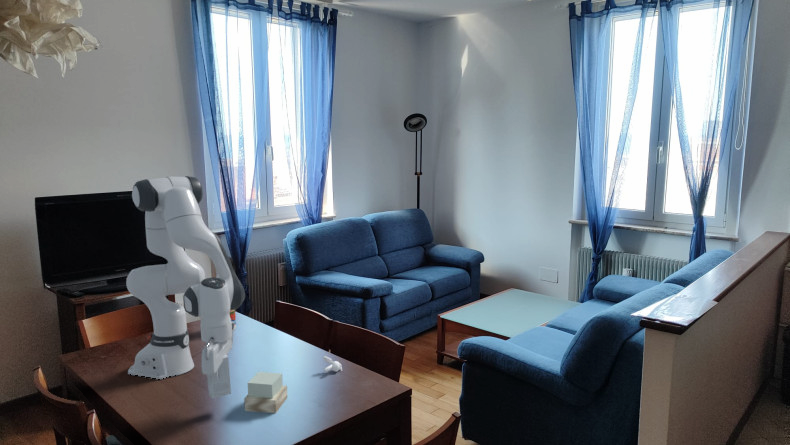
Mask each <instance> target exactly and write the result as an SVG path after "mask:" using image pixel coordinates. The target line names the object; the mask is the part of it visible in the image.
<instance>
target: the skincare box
mask: <svg viewBox="0 0 790 445" xmlns="http://www.w3.org/2000/svg"><path fill="white" fill-rule="evenodd" d="M229 364H230V363H229V356H228V355H225V356H224V357H223V362H222V364H221V365H220V367H219V368H218V374H219V379H218V381H217V382H213V381H212V376H211V375H206V377H207V388H208V389H207V390H208V395H209V397H210V398H211V399H216V398H220V397H225V396H227V395H231V394H232V387H231V376H230V374H231V371H230V365H229Z"/></svg>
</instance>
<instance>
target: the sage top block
mask: <svg viewBox="0 0 790 445" xmlns="http://www.w3.org/2000/svg"><path fill="white" fill-rule="evenodd" d="M283 383H284V382H283V373H280V372H279V373H277V372H264V371H258V372H257V373H256V374H255V375H254V376H253V377H252V378H251V379H250V380H248V381H247V395H248V397H259V398H271V399H273V398H274V396H275V395H276V394H277V393H278V392H279V391H280V390H281V388H282V387H283V386H284V384H283Z"/></svg>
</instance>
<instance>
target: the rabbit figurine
mask: <svg viewBox="0 0 790 445" xmlns="http://www.w3.org/2000/svg"><path fill="white" fill-rule="evenodd" d="M322 356H323V355H322ZM322 358H323V361H325V362H326V363H329V365H328V366H326V367H325V368H324V369H323V370H324V372H330V370H331V369H332V370H333V371H334V372H335V373H337V372H339V370H340V372H343V367H342V363H340V362H339V361H337V360H334V361H333V359H332V358H331V357H328V356H326V355H324V356H323V357H322Z"/></svg>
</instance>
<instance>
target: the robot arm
mask: <svg viewBox="0 0 790 445" xmlns="http://www.w3.org/2000/svg"><path fill="white" fill-rule="evenodd" d="M203 193H204V192H203V187H202V183H201V182H200V180H199V179H198V178H196V177H194V176H189V175H187V176H186V175H185V176H165V177H157V178H151V179H148V178H147V179H145V178H144V179H142V180H138V181H136V182H135V183H134V184H133V187H132V192H131V198H132V202H133V203H134V206H135V207H136V209H138V210H139V211H141V212H145V214H144V221H145V223H144V224H145V225H144V226H145V238H146V247H147V250H149V252H150V253H152V254H153V255H155V256H159V257H162V258H164V259H165V260H166V261H167V263H166V264H165V263H164V264H154V265H145V266H141V267H140V266H139V267H137V268H134V269H131V271H129V273H128V275H127V278H126V281H125V282H126V284H125V285H126V288H127V290H128V292H129V293H130V294H131V295H132V296H133V297H135V298H136V299H139V300H140V301H141V302H143V303H144V304H145V306H146V307H147V308H148V309H149V311H150V315H151V319H152V325H153V326H152V327H153V332H152V333H150V335H148V336H147V341H148V340H150V342H149V343H148V344H147V345H146V346H144V347H143V348H142V349H141V350H139V352H137V353H136V355H135V357H134V363H133V365H131V366H130V367H129V369H128V370H127V375H130V374H131V376H135V375H138V376H137V377H141V376H145V377H144V378H146V377H151V378H150V379H152V378H156V379H155V380H158V379H160V380H164V379H167V378H169V376H171V377H176V376H180V375H183V374H185V373H187V372H190V371H191V370H193V369H194V368H195V363H194V360H193V358H192V353H191V349H190V335H189V334H190V333H189V328H188V326H187V324H188V322H187V314H189V315H191V316H192V317H195V318H200V322H199V323H200V324H199V325H200V338H201V341H202V342H204V343H205V345H204V347H203V348H202V350H201V374H202V375H206V376H207V375H211V376H212V381H213V382H217V381H218V379H219V374H218V368H219V367H220V365H221V364H222V362H223V357H224V356H225V355H227V356H228V354H229V353H230V351H231V350H232V348H233V342H234V331H233V329H234V322H231V318H230V315H229V313H230V310H235V311H236V310H237V309H239V308H240V307H241V306H242V304H243V302H244V301H245V298H246V292H245V288H244V286H243V284H242V282H241V280H240V279H239V278H238V276H237V274H236V272H235V269H234V267H233V265H232V263H231V261H230V258H229V256H228V253H227V252H226V249H225V246H224V245H223V243H222V240H221V239H220V237H219V236H218V234H217V233H216V232H213V231H211V230H210V229H209V227H207V225H206V223H205V222H204V220H203V216H202V212H201V209H200V206H199V204H200V203H201V201H202V199H203ZM185 250H190V251H196V252H200V253H202V254H205V255H206V256H208V257H209V258H210V259H211V261H212V263H213V266H214V267H215V271H216V270H217V272H218V275H219V277H220V278H216V277H207V278H206V272H205V270H204V267H203V266H201V264H199V263H198V262H196V261H194V260H193V259H192V258H191V257H190V256H189V255H188V253H186V251H185ZM177 294H179V295H180V294H183V295H182V297H183V305H181V304H179V303H177V302H174V301H170V300H169V299H168V298H167V296H169V295H171V296H172V295H177ZM175 375H176V376H175ZM166 377H167V378H166ZM163 378H164V379H163Z"/></svg>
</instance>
